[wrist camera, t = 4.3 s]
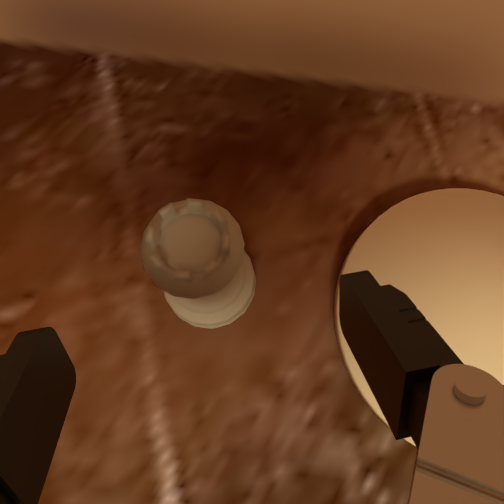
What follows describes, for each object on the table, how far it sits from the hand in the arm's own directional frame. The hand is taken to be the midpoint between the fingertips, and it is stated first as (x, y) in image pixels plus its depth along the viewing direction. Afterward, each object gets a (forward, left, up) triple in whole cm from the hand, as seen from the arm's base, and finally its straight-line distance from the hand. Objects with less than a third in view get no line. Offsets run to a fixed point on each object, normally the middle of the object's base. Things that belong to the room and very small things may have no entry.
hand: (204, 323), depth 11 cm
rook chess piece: (0, +2, -8) cm, 8 cm away
